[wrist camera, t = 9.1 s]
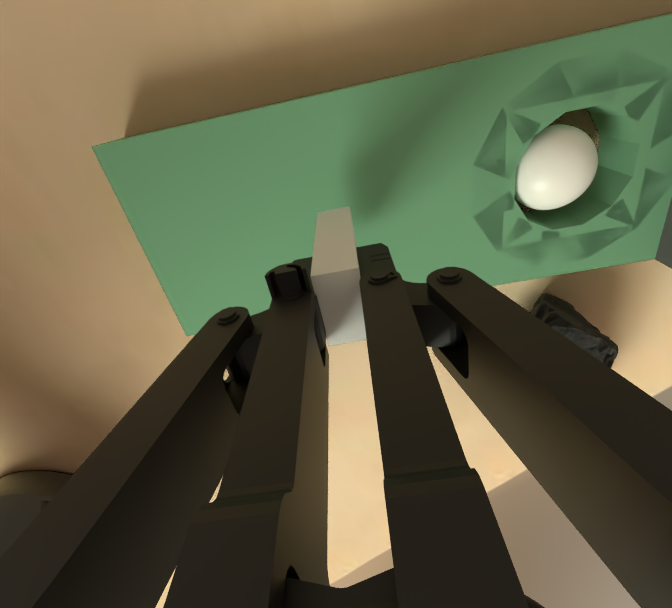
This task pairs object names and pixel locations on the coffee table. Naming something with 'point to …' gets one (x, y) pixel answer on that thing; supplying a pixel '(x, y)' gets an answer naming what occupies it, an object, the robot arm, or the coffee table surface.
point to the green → (410, 172)
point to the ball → (555, 168)
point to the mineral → (575, 328)
